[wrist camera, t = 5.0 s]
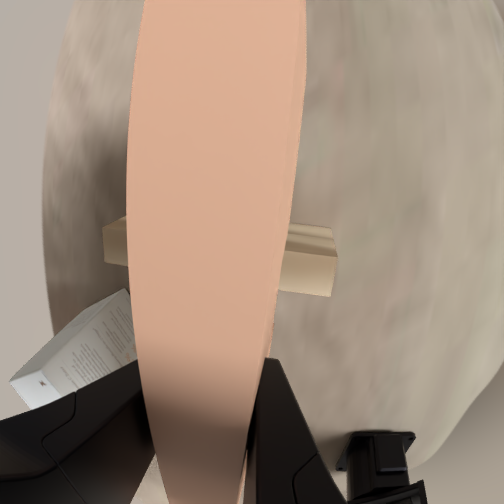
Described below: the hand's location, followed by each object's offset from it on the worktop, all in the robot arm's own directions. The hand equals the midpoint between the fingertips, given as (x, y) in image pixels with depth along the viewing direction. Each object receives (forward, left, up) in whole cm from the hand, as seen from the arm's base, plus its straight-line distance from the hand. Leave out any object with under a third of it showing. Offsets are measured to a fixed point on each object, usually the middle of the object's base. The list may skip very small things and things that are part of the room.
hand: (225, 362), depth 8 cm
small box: (-10, +11, -12) cm, 19 cm away
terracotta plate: (0, 0, -5) cm, 5 cm away
